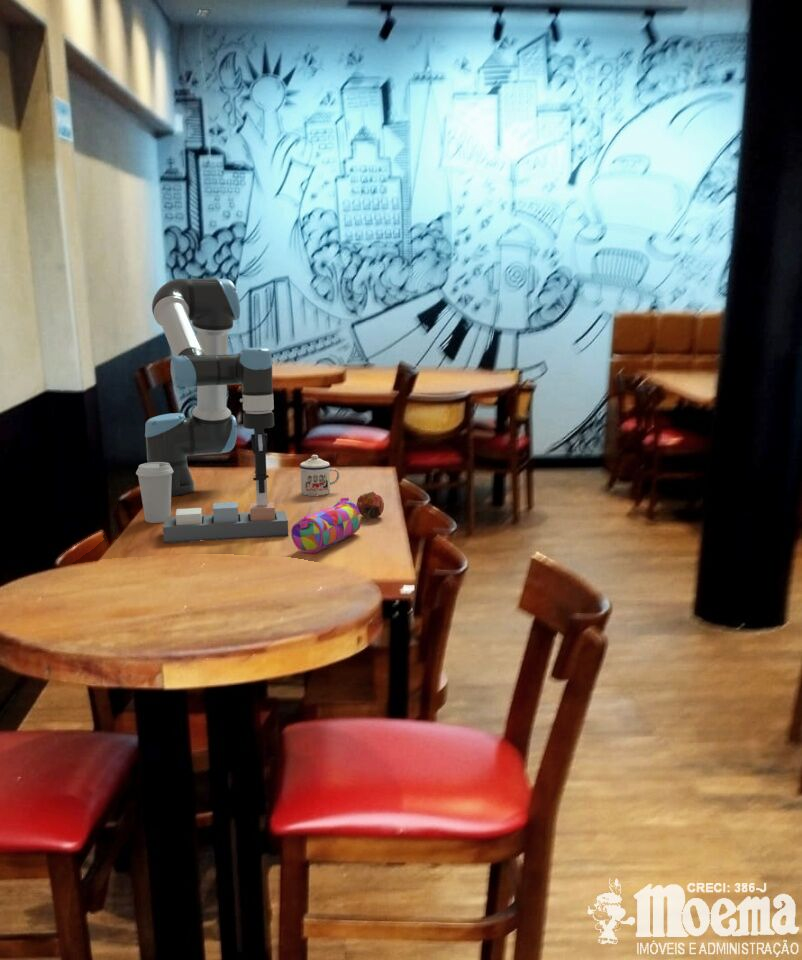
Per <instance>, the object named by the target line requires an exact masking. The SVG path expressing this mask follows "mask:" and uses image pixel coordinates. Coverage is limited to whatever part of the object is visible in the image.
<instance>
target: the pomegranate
mask: <svg viewBox="0 0 802 960" xmlns="http://www.w3.org/2000/svg"><path fill="white" fill-rule="evenodd" d="M355 505H356V506H357V507H358V509H359V512H360V516H362V517H364V518H366V521H365V522H368V520H369V518H379V517H380V516H381V515H382V513H383V512H384V508H385V503H384V499H383V498H382V496H381V495H379V494H377V493H376V492H375V491H370V492H367V493H364V494H360V495H359V496H358V498H357V501H356V504H355Z"/></svg>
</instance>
